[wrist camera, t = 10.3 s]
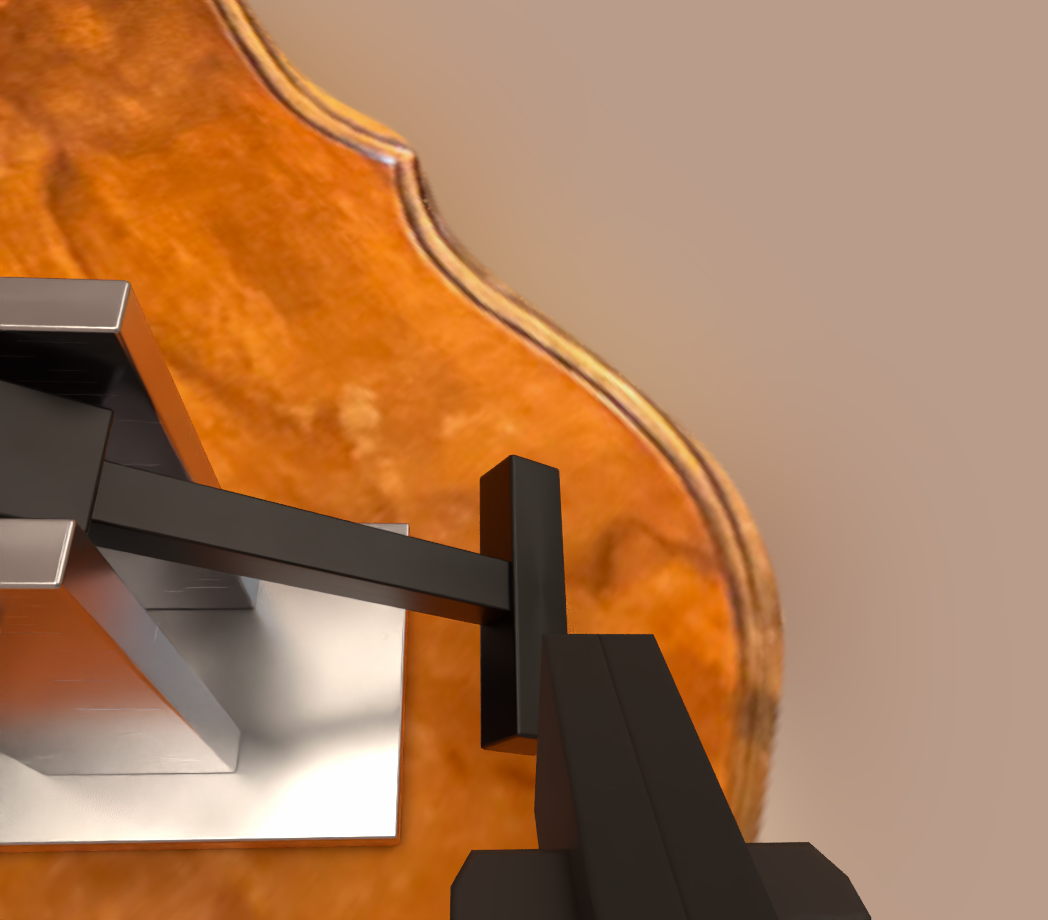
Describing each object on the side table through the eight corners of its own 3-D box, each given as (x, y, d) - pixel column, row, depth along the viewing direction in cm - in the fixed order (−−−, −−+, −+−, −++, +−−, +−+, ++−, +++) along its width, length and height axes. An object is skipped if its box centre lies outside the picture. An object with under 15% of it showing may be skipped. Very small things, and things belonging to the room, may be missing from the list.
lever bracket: (411, 540, 26) (387, 213, 15) (400, 846, 22) (358, 705, 11) (-35, 537, 25) (-407, 185, 14) (-127, 855, 21) (-739, 712, 10)
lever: (513, 500, 22) (575, 458, 20) (519, 761, 19) (592, 737, 17) (-72, 330, 16) (-52, 249, 14) (-195, 677, 13) (-188, 628, 11)
